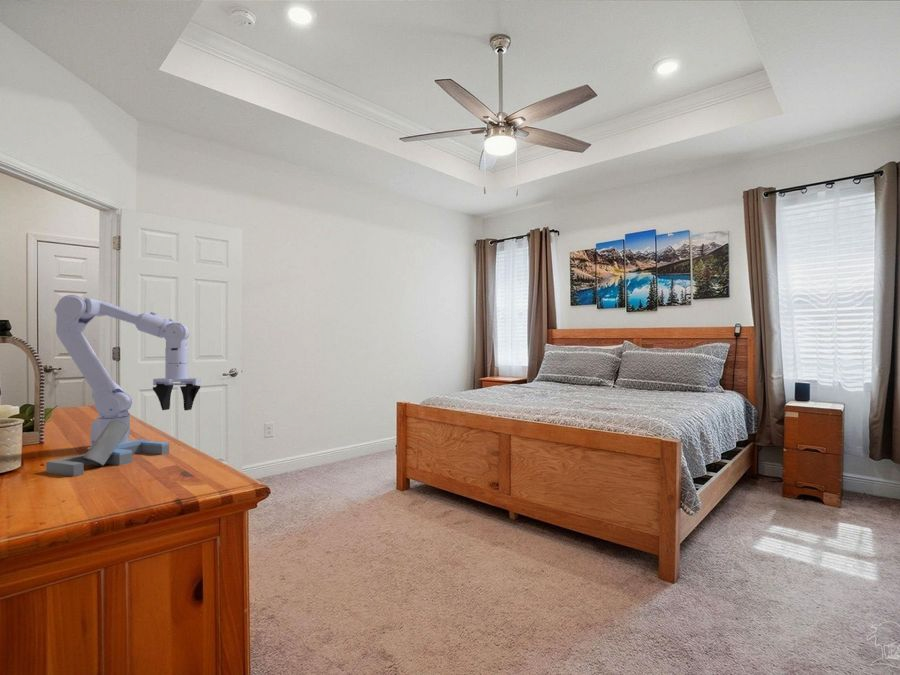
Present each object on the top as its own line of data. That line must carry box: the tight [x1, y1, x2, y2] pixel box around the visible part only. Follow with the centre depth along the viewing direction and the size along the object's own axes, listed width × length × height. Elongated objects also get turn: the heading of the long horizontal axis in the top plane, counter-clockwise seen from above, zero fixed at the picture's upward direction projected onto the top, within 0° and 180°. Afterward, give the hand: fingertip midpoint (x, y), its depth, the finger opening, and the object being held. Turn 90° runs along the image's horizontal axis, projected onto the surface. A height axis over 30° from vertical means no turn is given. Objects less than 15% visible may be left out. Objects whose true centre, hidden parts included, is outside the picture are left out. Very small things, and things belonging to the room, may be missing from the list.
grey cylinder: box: [83, 420, 129, 467], centre depth 115 cm, size 4×4×10 cm
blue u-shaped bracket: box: [112, 438, 170, 455], centre depth 122 cm, size 10×13×1 cm
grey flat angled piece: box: [45, 444, 170, 477], centre depth 117 cm, size 10×23×2 cm, turn 158°
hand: (176, 409), depth 138 cm, fingers open, 7 cm apart
